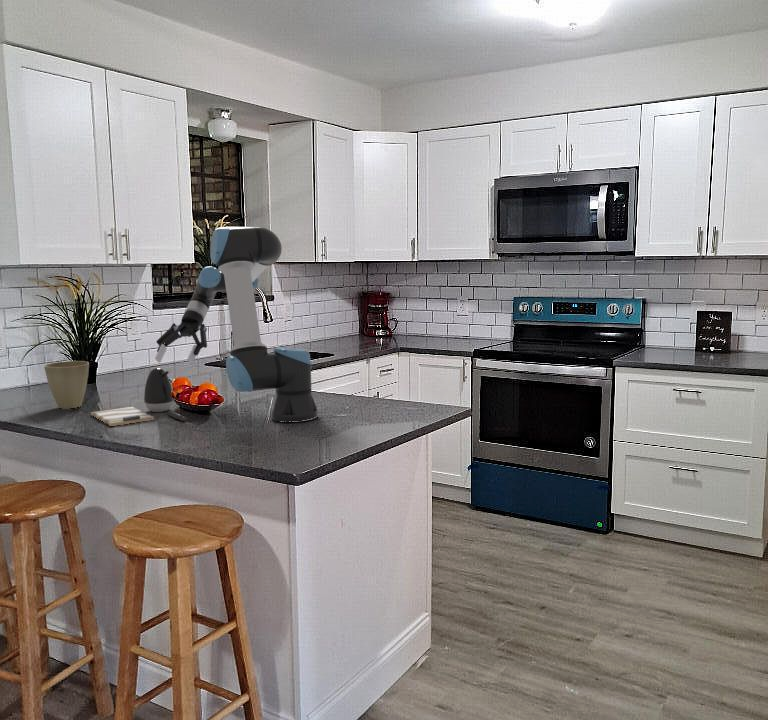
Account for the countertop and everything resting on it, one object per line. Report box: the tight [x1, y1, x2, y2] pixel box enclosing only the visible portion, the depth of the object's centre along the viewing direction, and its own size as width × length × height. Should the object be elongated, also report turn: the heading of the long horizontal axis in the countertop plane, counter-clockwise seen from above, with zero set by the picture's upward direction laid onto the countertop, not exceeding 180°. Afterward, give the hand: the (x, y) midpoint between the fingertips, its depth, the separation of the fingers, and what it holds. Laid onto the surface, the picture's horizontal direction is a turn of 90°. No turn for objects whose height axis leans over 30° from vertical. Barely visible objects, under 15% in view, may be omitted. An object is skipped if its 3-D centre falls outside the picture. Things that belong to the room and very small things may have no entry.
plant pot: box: [43, 360, 90, 410], centre depth 267 cm, size 15×15×16 cm
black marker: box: [167, 410, 187, 422], centre depth 246 cm, size 14×2×2 cm, turn 36°
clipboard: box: [90, 406, 155, 427], centre depth 249 cm, size 22×14×2 cm, turn 36°
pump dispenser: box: [143, 367, 175, 413], centre depth 258 cm, size 10×10×15 cm
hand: (173, 361), depth 267 cm, fingers open, 13 cm apart
